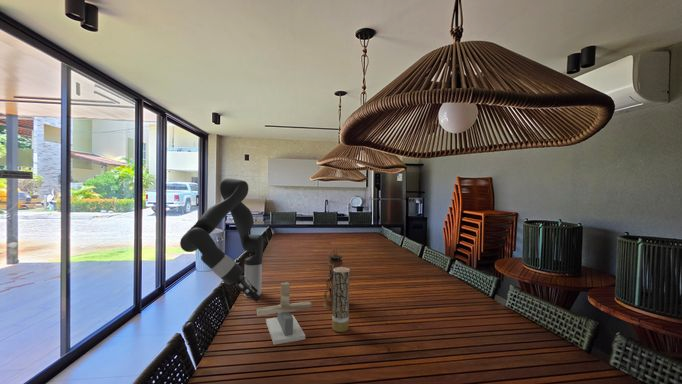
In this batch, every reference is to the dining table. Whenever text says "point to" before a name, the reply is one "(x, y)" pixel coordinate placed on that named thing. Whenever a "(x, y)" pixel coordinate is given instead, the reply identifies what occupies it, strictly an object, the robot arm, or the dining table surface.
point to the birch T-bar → (284, 303)
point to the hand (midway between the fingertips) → (257, 296)
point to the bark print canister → (340, 299)
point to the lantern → (333, 263)
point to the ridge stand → (284, 328)
